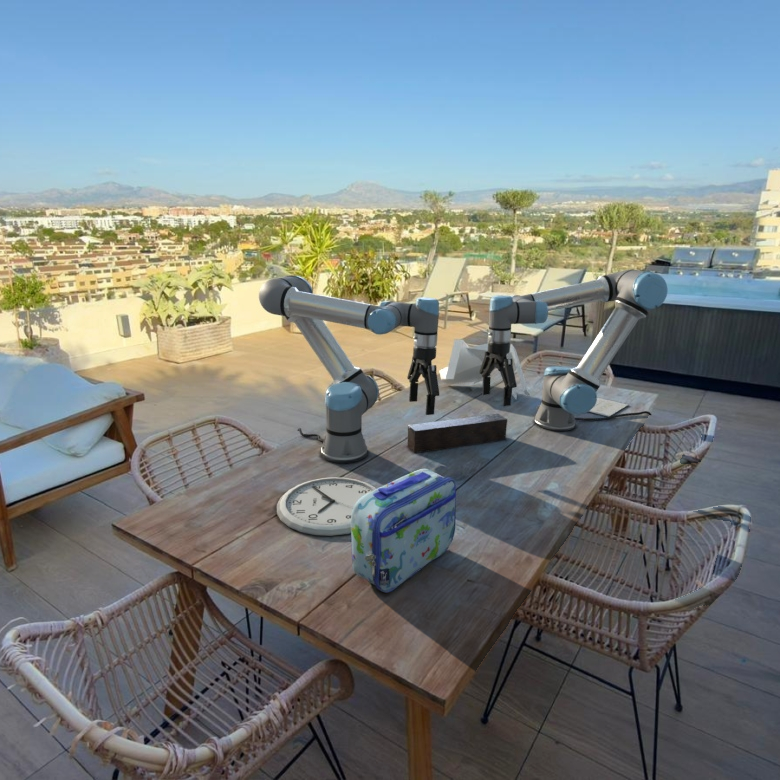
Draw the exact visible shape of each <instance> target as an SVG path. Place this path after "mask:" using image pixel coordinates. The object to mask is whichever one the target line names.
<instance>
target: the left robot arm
mask: <svg viewBox="0 0 780 780" xmlns="http://www.w3.org/2000/svg"><path fill="white" fill-rule="evenodd" d="M313 291H314V290H313V288H312V286H311V284H310V282H309V281H308V280H307V279H306V278H305V277H302V276H300V275H290V274H289V275H286V276H282V277H276V278H270V279H267V280H266V281H265V282H263V284H262V285H261V287H260V288H259V291H258V301H259V304H260V305H261V307H262V308H263V309H264V310H265V311H266V312H267V313H269V314H272V315H276V316H281V317H284V318H285V319H286V320H287V322H288V323H293V324H295V326H296V327H297V329H298V330H299V332H300V333H301V335H302V336H303V337H304V339H305V340H306V342H307V343H308V345H309V346H310V348H311V349H312V351H313V352H314V353H315V355H316V357H317V358H318V360H319V361H320V363H321V364H322V366H323V367H324V368H325V370H326V371H327V373H328V374H329V375H330V378H332V380H333V384H332V385H330V386H329V387H328V388H327V389H326V391H325V398H324V402H325V430H326V431H325V435H324V439H321V435H320V434H317V433H310V434H309V433H308V434H306V433H303V431H302V428H300V427H299V428H298V429H297V432H299V434H300V435H301V436H302V437H305V438H310V437H316V438H317V440H318V441H319V442H321V443H322V445H321V448H320V453H321V457H322V458H323V459H324V460H325V461H328V462H330V463H337V464H349V463H351V464H352V463H356V462H359V461H361V460H364V459H365V458H366V457H367V456H368V446H367V444H366V439H365V438H364V435H363V430H362V429H363V428H362V421H363V420H362V417H363V415H364V414H365V413H366V412H367V411H369V410H370V409H371V408H373V407H374V406H375V404H376V402H377V401H378V398H379V394H380V388H379V386H378V383H377V381H376V380H375V379H374V378H373V377H372V376H370V375H367V374H365V373H364V371H363V370H362V368H361V367H357V366H355V365H354V364H353V363H352V361H351V360H350V358H349V357H348V356H347V354H346V352H345V351H344V349H343V348H342V347H341V345H340V344H339V342H338V341H337V339H336V338H335V336H334V335H333V333H332V332H331V330H330V328H329V327H328V325H327V324H326V323H325V322H330V323H335V324H340V325H344V326H351V327H355V328H361V329H366V330H370V331H371V332H372V333H373V334H376V335H379V336H381V335H387V334H390V332H392V331H394V330H395V329H396V328H399V327H409V328H413V329H414V330H413V331H414V333H413V337H412V338H413V345H414V346H413V349H412V357H411V363H410V367H409V370H408V373H407V376H406V377H407V380H409V381H408V382H409V399H408V402H411V403H414V402H418V392H419V379H420V377H422V378H423V379H424V383H425V387H426V391H427V394H426V395H425V396H426V400H425V401H426V402H425V416H433V415H435V406H436V397H439V396H440V389H439V381H438V374H437V365H436V364H433V363H432V361H433V360H435V359H436V358H437V346H438V332H439V331H438V330H439V319H440V301H439V300H438V299H437V298H434V297H417V298H416V300H415V302H413V303H411V302H399V301H393V300H390V301H389V300H385V301H381V302H380V303H379V305H374V304H371V303H366V302H365V303H364V302H359V301H355V300H349V299H342V298H338V297H333V296H332V297H331V296H327V295H322V294H321V295H320V294H315V293H314V292H313Z"/></svg>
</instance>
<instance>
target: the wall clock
mask: <svg viewBox="0 0 780 780" xmlns="http://www.w3.org/2000/svg"><path fill="white" fill-rule="evenodd" d="M376 489H378V487H376V486H374V485H372V484H371V483H369V482H365V481H362V480H359V479H355V478H349V477H338V476H337V477H335V476H333V477H332V476H331V477H322V478H317V479H312V480H307V481H305V482H302V483H299V484H297V485H295V486H293V487H292V488H290V489H288V490H287V491H286V492H285V493H284V494H283V495H281V496H280V498H279V499H278V502H277V503H276V515H277V517H278V518H279V520H280V521H281V522H282V523H283V524H285V525H286V526H287V527H288V528H290V529H293V530H295V531H297V532H299V533H303V534H308V535H312V536H327V537H328V536H329V537H331V536H332V537H333V536H342V535H350V534H351V514H352V510H353V507H354V505H355V504H356V502H357V501H358V500H359V499H360V498H361V497H362V496H364V495H365V494H367V493H370V492H372V491H374V490H376Z"/></svg>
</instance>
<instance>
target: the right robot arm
mask: <svg viewBox="0 0 780 780" xmlns="http://www.w3.org/2000/svg"><path fill="white" fill-rule="evenodd" d="M668 291H669V290H668V284H667V282H666V280H665V279H664V277H663V276H662V275H660V274H658V273H655V272H653V271H648V270H647V271H644V270H638V269H625V270H620V271H616V272H611V273H609V274H604V275H600V276H598V278H597V279H594V280H589V281H586V282H581V283H575V284H571V285H566V286H561V287H557V288H552V289H547V290H543V291H542V290H541V291H538V292H533V293H528V294H523V295H519V294H515V295H503V294H502V295H499V294H497V295H493V296H491V298H490V299H489V309H488V311H489V312H488V313H489V315H488V333H487V335H488V337H487V338H488V342H487V343H488V351H486V352H485V357H484V360H483V363H482V366H481V369H480V371H479V373H480V374H482V377H483V380H482V393H481V395H482V396H486V395H490V394H491V381H492V380H491V379H492V378H491V375H492V372H494V370H495V369H494V368H495V367H496V369H497V370H498V372H499V373H500V376H501V379H502V381H503V385H504V387H503V393H502V394H503V395H502V406H503V407H509V406H512V397H513V395H512V388H515V389H516V388H517V380H516V375H515V371H514V364H513V363H514V360H513V359H507V354H508V353H509V352H510V344H511V342H510V341H512V340H511V339H512V325H526V324H527V325H530V324H532V325H538V324H545V323H546V322H547V320H548V318H549V312H551V311H556V310H561V309H566V308H571V307H576V306H580V305H585V304H590V303H595V302H602V303H608V302H614V309H613V310H612V312H611V313H610V315H609V317H608V318H607V320H606V321H605V323H604V325H603V326H602V327H601V328H600V331H599V332H598V333H597V334H596V337H595V339H594V340H593V341H592V343H591V345H590V347H589V348H588V349H587V351H586V353H584V356H583V357H582V358H581V360H580V362H579V364H578V365H577V366H576V367H570V366H548V367H546V368H545V370H544V373H543V381H542V382H543V383H542V394H541V402H540V405H537V406H536V410H537V411H536V413H535V417H534V424H535V425H536V426H537V427H539V428H542V429H544V430H549V431H556V432H567V431H572V430H574V429H575V428H576V421H584V422H585V421H586V422H588V421H589V422H591V421H592V422H593V421H594V422H595V421H607V420H613V419H616V418H620V417H621V418H622V417H628V416H640V415H645V414H647V415H648V416H653V414H652V413H651V412H650V411H648V410H643V411H639V412H628V413H626V412H625V413H620V414H615V415H611V416H609V417H608V416H604V417H576V416H577V415H578V416H579V415H583V414H587V413H589V412H588V411H590V410H591V409H592V408H593V407H594V406H595V404H596V401H597V398H598V397H597V395H598V393H597V392H598V390H599V388H600V387H601V382H600V379H601V378H602V376H603V374H604V373H605V372H606V370H607V368H608V367H609V365H610V363H611V362H612V361H613V359H614V358H615V356H616V355H617V353H618V352H619V350H620V348H621V347H622V345H623V344H624V343H625V341H626V339H627V338H628V336H629V335H630V333H631V332H632V330H633V329H634V327H635V326H636V324H637V323H638V321H639V320H641V319H645V318H646V317H648V315H649V313H650V312H651V310H654V309H657V308H658V307H659V308H660V306H662V305H663V303H664V302H665V301H666V300H667V296H668ZM493 369H494V370H493Z"/></svg>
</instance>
